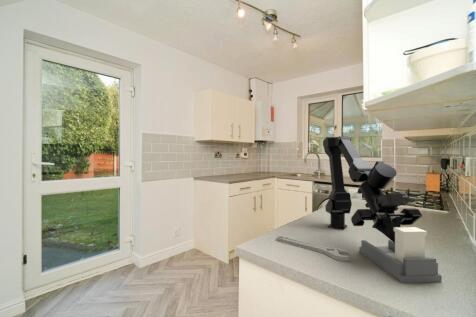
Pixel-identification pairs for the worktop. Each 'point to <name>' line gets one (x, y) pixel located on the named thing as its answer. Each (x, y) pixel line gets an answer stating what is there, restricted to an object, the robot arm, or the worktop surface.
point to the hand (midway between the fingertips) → (400, 245)
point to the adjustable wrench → (319, 248)
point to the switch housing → (405, 272)
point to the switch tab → (409, 243)
